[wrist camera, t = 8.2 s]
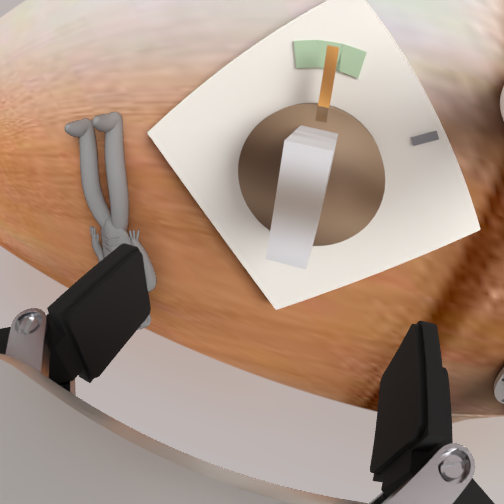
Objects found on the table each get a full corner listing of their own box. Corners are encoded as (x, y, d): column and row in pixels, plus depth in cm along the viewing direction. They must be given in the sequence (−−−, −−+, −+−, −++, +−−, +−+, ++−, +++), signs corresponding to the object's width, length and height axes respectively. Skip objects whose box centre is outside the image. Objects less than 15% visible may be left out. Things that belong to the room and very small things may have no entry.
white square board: (475, 221, 21) (481, 230, 20) (279, 300, 32) (275, 311, 30) (354, -9, 16) (354, -15, 14) (156, 129, 26) (145, 133, 24)
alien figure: (104, 114, 22) (158, 345, 34) (138, 106, 26) (177, 319, 38) (49, 128, 25) (107, 329, 37) (82, 118, 29) (128, 307, 41)
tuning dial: (362, 247, 24) (360, 305, 18) (240, 215, 26) (204, 262, 20) (408, 68, 16) (433, 64, 10) (261, 38, 18) (221, 25, 12)
